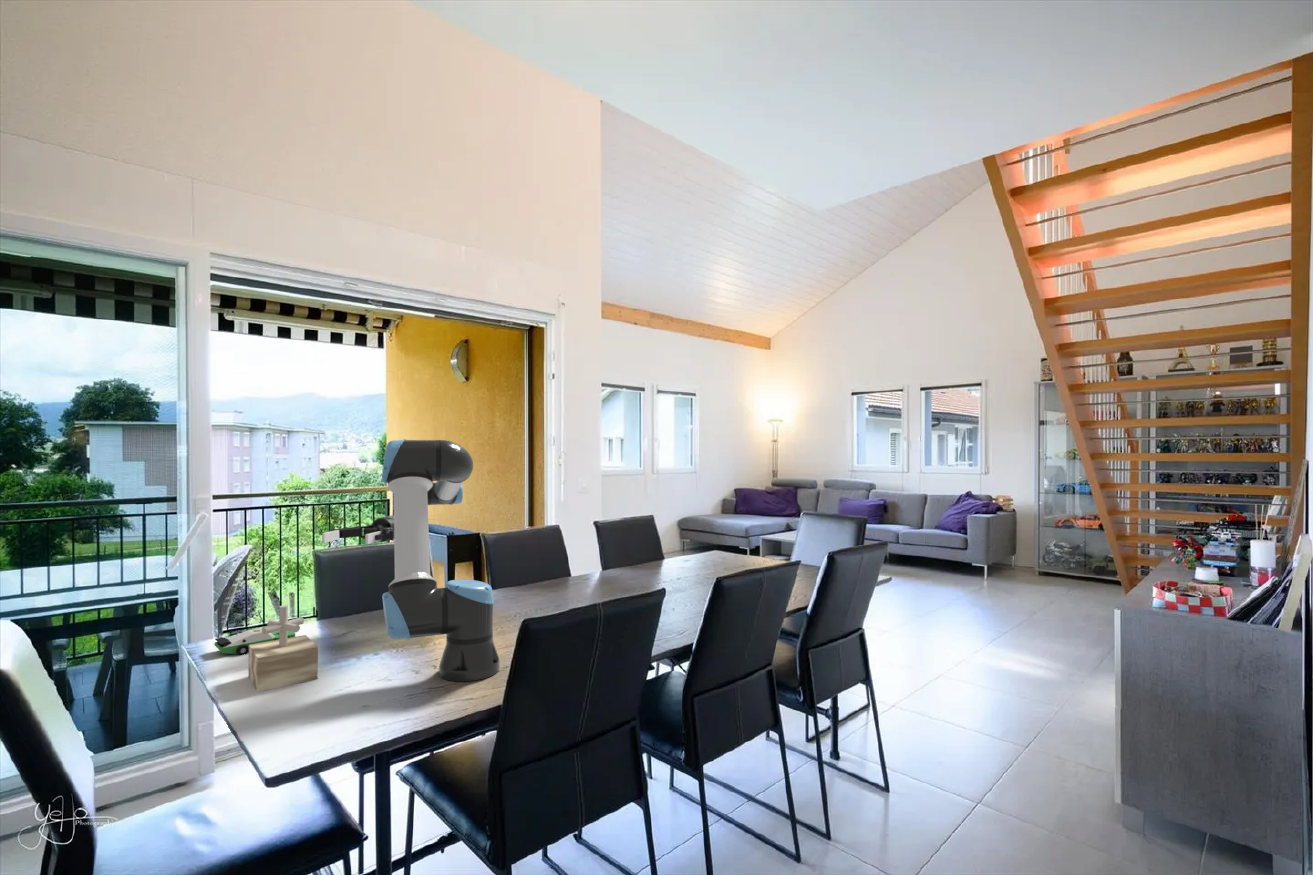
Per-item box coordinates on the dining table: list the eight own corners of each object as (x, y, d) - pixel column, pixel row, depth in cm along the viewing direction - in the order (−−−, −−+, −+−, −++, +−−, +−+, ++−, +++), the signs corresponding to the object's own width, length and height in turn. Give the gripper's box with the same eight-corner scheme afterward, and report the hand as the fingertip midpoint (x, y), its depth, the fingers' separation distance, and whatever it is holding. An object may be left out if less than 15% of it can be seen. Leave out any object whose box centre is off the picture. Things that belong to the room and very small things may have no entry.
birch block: (317, 678, 162) (317, 646, 162) (257, 691, 154) (257, 658, 154) (305, 664, 172) (305, 634, 172) (248, 676, 163) (248, 644, 163)
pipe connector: (251, 648, 160) (251, 608, 161) (288, 637, 169) (289, 599, 170) (277, 654, 156) (277, 613, 156) (314, 643, 165) (314, 604, 165)
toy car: (298, 644, 190) (298, 627, 190) (221, 660, 176) (221, 642, 176) (288, 637, 197) (288, 620, 197) (213, 651, 183) (213, 633, 184)
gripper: (424, 541, 202) (384, 553, 181) (351, 539, 206) (305, 550, 185) (424, 517, 202) (385, 526, 181) (352, 515, 206) (305, 524, 185)
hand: (344, 538), depth 183 cm, fingers open, 13 cm apart
